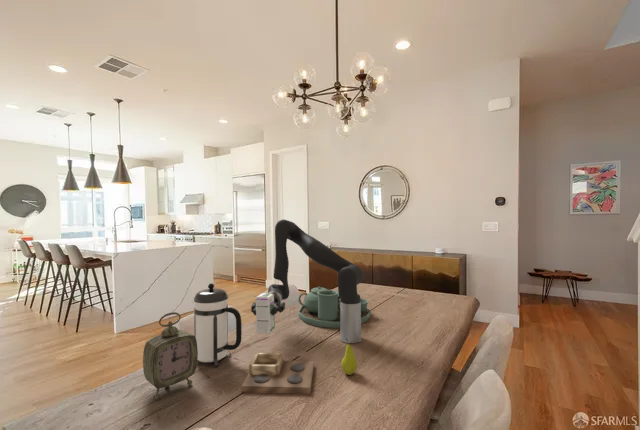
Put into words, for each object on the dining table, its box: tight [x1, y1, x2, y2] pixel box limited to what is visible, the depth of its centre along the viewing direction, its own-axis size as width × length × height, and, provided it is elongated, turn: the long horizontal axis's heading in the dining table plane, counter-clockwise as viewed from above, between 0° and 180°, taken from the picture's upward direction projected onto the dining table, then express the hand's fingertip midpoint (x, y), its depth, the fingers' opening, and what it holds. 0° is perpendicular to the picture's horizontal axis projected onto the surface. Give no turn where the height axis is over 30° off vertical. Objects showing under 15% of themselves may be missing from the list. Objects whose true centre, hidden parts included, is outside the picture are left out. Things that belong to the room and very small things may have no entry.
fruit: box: [340, 338, 358, 376], centre depth 114 cm, size 6×6×12 cm
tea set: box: [297, 286, 372, 329], centre depth 179 cm, size 40×40×16 cm
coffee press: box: [192, 282, 243, 368], centre depth 125 cm, size 17×16×30 cm
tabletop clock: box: [142, 311, 198, 400], centre depth 104 cm, size 14×9×25 cm, turn 139°
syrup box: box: [255, 292, 276, 335], centre depth 128 cm, size 6×6×14 cm
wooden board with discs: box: [241, 352, 315, 395], centre depth 111 cm, size 22×18×5 cm
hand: (264, 312), depth 126 cm, fingers closed on syrup box, 6 cm apart
